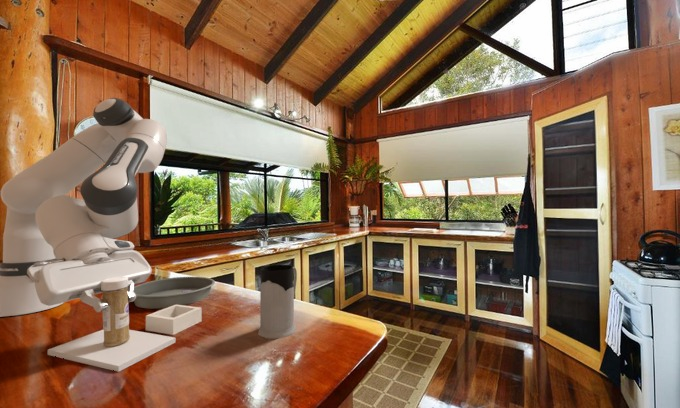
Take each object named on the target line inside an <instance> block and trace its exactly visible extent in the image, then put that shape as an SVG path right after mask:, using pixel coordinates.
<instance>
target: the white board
mask: <svg viewBox="0 0 680 408" xmlns="http://www.w3.org/2000/svg"><path fill="white" fill-rule="evenodd" d="M129 335H130V339H129V340H128V341H126V342H125V343H122V344H120V345H117V346H110V347H108V346H104V344H103V343H104V330H103V329H101V330H98V331H95V332H92V333H89V334H87V335H85V336H82V337H79V338H75V339H73V340H71V341H68V342H65V343H63V344H60V345H56V346H55V347H52V348H49V349H47V356H52V357H55V356H56V357H57V358H60V359H63V358H64V360H68V361H72V362H76V363H81V364H85V365H89V366H92V367H97V368H102V369H104V370H110V371H113V370H114V371H115V372H119V373H120V372H121V371H123V370H125V369H127V368H128V367H130V366H132V365H134V364H137V363H138V362H140V361H142V360H144V359H146V358H148V357H150V356H152V355H154V354H155V353H157V352H159V351H161V350H164V349H165V348H167V347H169V346H172V345H173V344H176V337H174V336H173V337H172V336H168V335H161V334H156V333H150V332H146V331H145V332H144V331H138V330H133V329H129Z"/></svg>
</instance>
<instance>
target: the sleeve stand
mask: <svg viewBox="0 0 680 408" xmlns="http://www.w3.org/2000/svg"><path fill="white" fill-rule="evenodd" d="M202 308H203V307H200V306H199V307H198V306H190V305H177V304H176V305H173V306H171V307H168V308H161V309H159V310H157V311H155V312H152V313H150V314H149V313H148V314H147V315H145V331H147V332H152V333H153V332H155V333H159V334H166V335H172V336H174V335H176V334H178V333H180V332H182V331H184V330H187V329H188V328H190V327H192V326H195V325H196V324H199V323H201V322H202V321H203V317H202V314H203V313H202V312H203V311H202Z"/></svg>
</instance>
